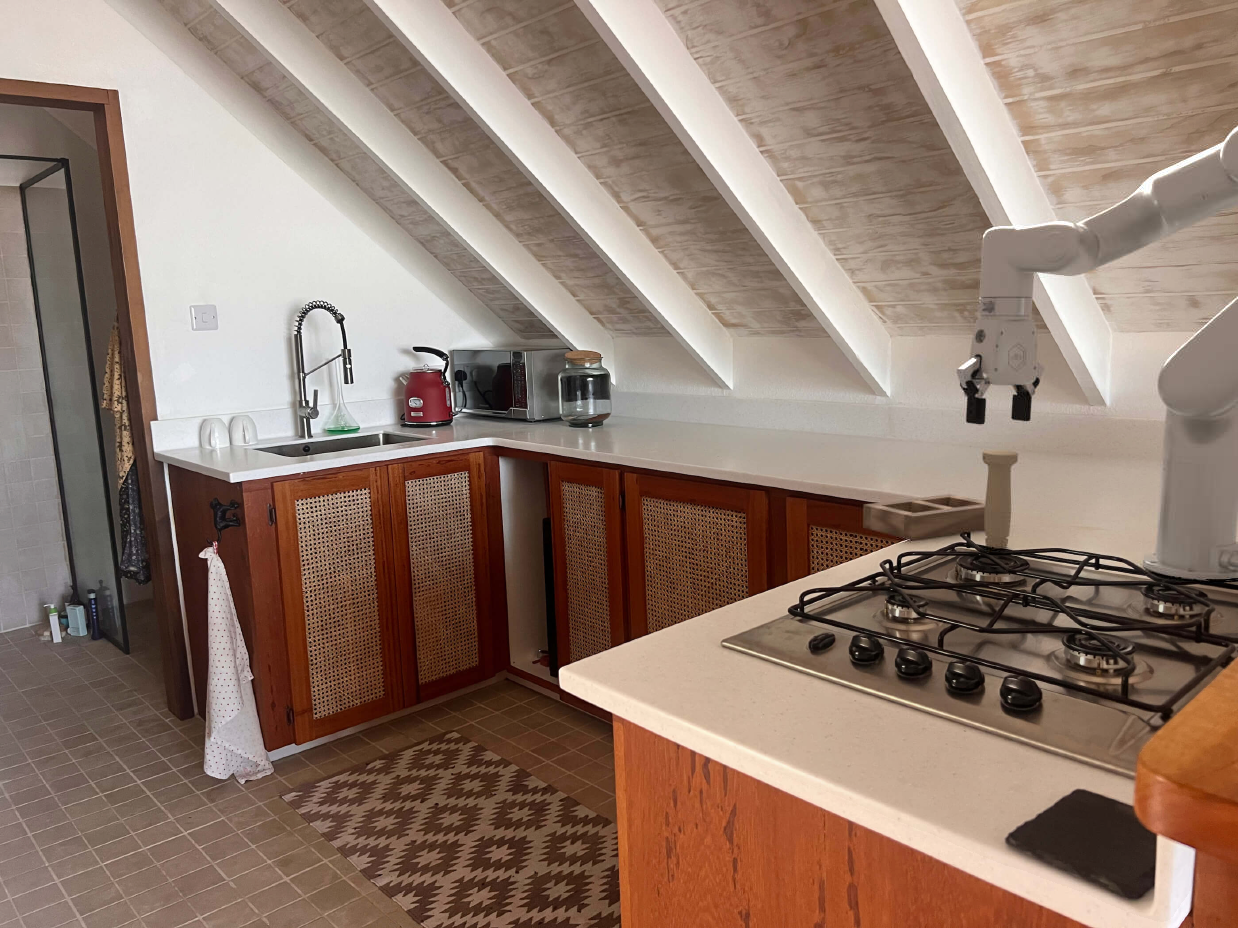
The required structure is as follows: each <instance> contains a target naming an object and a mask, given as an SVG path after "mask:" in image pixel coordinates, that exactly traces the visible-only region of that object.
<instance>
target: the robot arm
mask: <svg viewBox="0 0 1238 928" xmlns="http://www.w3.org/2000/svg"><path fill="white" fill-rule="evenodd" d="M1236 207H1238V126H1237V127H1235V128H1234V129H1233V130H1232V131H1231V132H1230V133H1229V134H1228V136H1227V137H1226V138H1225V140H1224V141H1223V142H1220V143H1219V144H1216V145H1215V146H1213V147H1211V148H1208V149H1206V150H1204V151H1202V152H1200V153H1197V154H1196V155H1193V156H1191V157H1188V158H1187V159H1185V160H1182V161H1180V162H1178V163H1176V164H1174V165H1171V166H1169V167H1167V168H1165V169H1163V170H1160V171H1158V172H1157V173H1155V174H1153V175H1152V176H1150V177H1149V178H1148V179H1146V180H1145V181H1144V182H1143V183H1142V184H1141V186H1140V187H1139V188H1137V190H1135V191H1134V192H1133V193H1132V194H1131V195H1129V197H1127V198H1126V199H1124V200H1122V201H1121V202H1119V203H1116V204H1115V205H1114V206H1112V207H1110V208H1108V209H1106V210H1103V211H1102V212H1100V213H1097V214H1096V215H1093V216H1091V217H1088V218H1087V219H1084V220H1082V221H1080V222H1077V223H1074V222H1069V221H1064V220H1063V221H1062V220H1061V221H1052V222H1046V223H1042V224H1037V225H1036V224H1034V225H1031V226H1021V225H1011V226H995V227H992V228H989V229H987V230H986V231H984V234H983V237H982V243H981V244H982V245H981V259H980V261H981V263H980V280H979V281H980V282H979V298H978V299H979V301H978V303H977V305H976V310H977V311H978V316H977V319H976V321H975V324H974V329H973V333H972V339H971V344H970V352H969V353H970V354H969V360H967V362H965V363H964V364H963V365H961V366H960V367H958V368H957V369H956V375H957V378H958V381H959V387H960V388H961V390H962V391H963V396H964V397H965V398H966V413H965V422H966V423H967V424H972V425H973V424H974V425H981V426H982V425H984V424H985V423H986V409H987V398H986V397H984V396H985V393H987V391H988V389H989V388H990V386H991V385H993V386H1012V388H1013V390H1014V391H1015V394H1014V393H1013V394H1012V399H1011V419H1012V420H1013V421H1018V422H1019V421H1021V422H1030V421H1031V418H1032V417H1031V416H1032V415H1031V414H1032V403H1033V402H1032V401H1033V400H1032V399H1033V396H1034V395H1035V394H1036V389H1037V387H1038V386H1039V385H1040V383H1041V380H1040V379H1041V378H1042V376H1043V373H1044V370H1045V366H1044V365H1042V363H1040V362H1038V340H1037V328H1036V323H1035V319H1032V310H1033V309H1032V308H1033V296H1034V295H1033V294H1034V293H1033V292H1034V281H1035V279H1034V278H1035V273H1038V274H1039V273H1040V274H1048V275H1055V276H1065V277H1066V276H1067V277H1074V276H1079V275H1083V274H1085V273H1088V272H1090V271H1093V270H1095V269H1098V268H1100V267H1103V266H1105V265H1107V264H1110V263H1112V262H1115V261H1117V260H1120V259H1122V258H1123V257H1126V256H1129V255H1131V254H1132V253H1135V252H1137V251H1139V250H1141V249H1144V248H1145V247H1147V246H1150V245H1152V244H1154V243H1156V242H1160V241H1162V240H1164V239H1166V238H1169V237H1171V236H1172V235H1175V234H1176V233H1178V232H1180V231H1183V230H1185V229H1187V228H1189V227H1193V225H1197V224H1198V223H1202V222H1203V221H1206V220H1207V219H1210V218H1212V217H1215V216H1217V215H1219V214H1222V213H1224V212H1226V211H1229V210H1231V209H1233V208H1236ZM1157 391H1158V395H1159V398H1160V400H1161V401H1162V403H1163V405H1165V407H1166V410H1165V419H1164V429H1163V440H1162V454H1161V457H1162V458H1161V467H1160V468H1161V469H1160V482H1159V498H1158V513H1157V531H1156V542H1155V543H1156V544H1155V545H1156V548H1155V552H1153V553H1152V552H1151V553H1148V554H1146V555H1144V556H1143V558H1142V566H1143V567H1144V568H1145V569H1146V570H1149V571H1151V572H1153V573H1157V574H1160V575H1165V576H1169V577H1173V576H1174V578H1179V577H1181V578H1180V579H1187V580H1194V579H1196V581H1197V580H1198V581H1207V580H1206V579H1231V578H1238V541H1237V533H1238V296H1236V297H1235V298H1234V299H1233V300H1232V301H1231V302H1230V303H1228V305H1226V306H1225V307H1224V308H1223V309H1222V310H1220V312H1219V313H1217V314H1216V315H1215V316H1214V317H1213V318H1212V319H1211V320H1209V322H1207V323H1206V324H1205V325H1204V326H1203V327H1202V328H1200V330H1198V331H1197V332H1196V333H1195V334H1194V335H1193V336H1191V338H1189V339H1188V340H1187V341H1185V343H1184V344H1182V346H1180V348H1178V349H1177V350H1175V351H1174V352H1173V353H1172V355H1170V357H1169V358H1168V359H1167V360H1166V361H1165V362H1164V363H1163V365H1162V367H1161V368H1160V371H1159V372H1158V377H1157Z"/></svg>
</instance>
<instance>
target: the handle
mask: <svg viewBox="0 0 1238 928" xmlns="http://www.w3.org/2000/svg"><path fill="white" fill-rule="evenodd" d="M1018 459H1019V453H1018V452H1016V451H1012V450H1007V449H1006V450H1005V449H986V450H985V449H984V450H983V451H982V462H983V463H984V464H985V465H987V467H988V468H987V482H986V494H985V500H984V501H985V515H984V518H985V519H984V521H985V523H984V524H985V530H984V534H985V536H986V538H984V539H985V541H984V542H985V546H986V547H987V546H988V547H987V548H992V547H994V548H993V549H995V548H996V549H1001V548H1003V549H1005V548H1006V547H1007V546H1008V543H1009V539H1008V537H1009V534H1010V531H1011V530H1010V529H1011V521H1012V520H1011V519H1012V482H1011V481H1012V480H1011V479H1012V478H1011V477H1012V476H1011V474H1012V473H1011V472H1012V466H1013V465H1015V464H1017V463H1018Z"/></svg>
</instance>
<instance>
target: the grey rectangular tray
mask: <svg viewBox="0 0 1238 928" xmlns="http://www.w3.org/2000/svg"><path fill="white" fill-rule="evenodd" d="M862 507H863V509H862V511H863V513H862V527H863V528H864V529H868V530H871V531H876V532H879V533H883V534H887V535H891V536H895V537H898V538H903V539H905V540H909V541H918V540H926V539H933V538H937V537H945V536H952V535H959V534H962V533H961V532H966V533H973V532H978V531H985V524H984V523H985V521H984V519H985V518H984V515H985V500H980V499H975V498H971V497H964V496H960V495H955V494H950V493H949V494H941V495H934V496H924V497H917V498H916V497H915V498H908V499H907V498H906V499H900V500H892V501H883V502H875V503H867V504H866V503H865V504H863V506H862Z"/></svg>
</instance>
